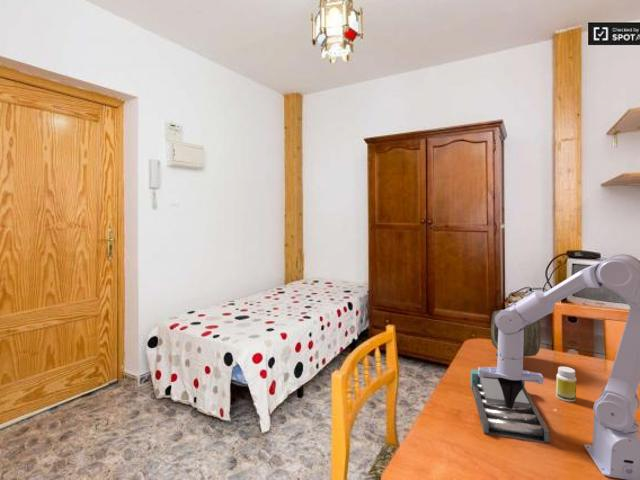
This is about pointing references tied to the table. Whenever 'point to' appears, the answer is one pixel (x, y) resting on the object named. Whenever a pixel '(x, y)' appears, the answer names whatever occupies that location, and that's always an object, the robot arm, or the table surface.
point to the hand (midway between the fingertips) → (508, 406)
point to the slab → (500, 393)
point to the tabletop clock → (530, 334)
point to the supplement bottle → (566, 384)
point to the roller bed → (504, 434)
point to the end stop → (476, 377)
